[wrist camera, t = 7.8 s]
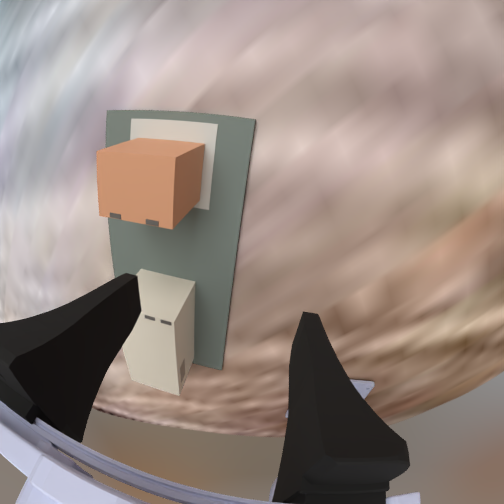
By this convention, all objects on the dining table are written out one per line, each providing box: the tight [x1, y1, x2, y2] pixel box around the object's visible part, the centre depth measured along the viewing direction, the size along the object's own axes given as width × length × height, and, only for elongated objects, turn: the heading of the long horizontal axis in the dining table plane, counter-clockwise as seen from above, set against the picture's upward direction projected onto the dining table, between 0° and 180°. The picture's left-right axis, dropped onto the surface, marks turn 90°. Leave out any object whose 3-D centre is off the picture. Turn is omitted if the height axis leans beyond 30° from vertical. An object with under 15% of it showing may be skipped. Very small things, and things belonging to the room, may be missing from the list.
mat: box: [106, 110, 256, 370], centre depth 23 cm, size 24×11×1 cm, turn 172°
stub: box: [97, 138, 205, 230], centre depth 17 cm, size 4×5×5 cm
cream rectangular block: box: [122, 269, 195, 396], centre depth 24 cm, size 10×5×5 cm, turn 172°
